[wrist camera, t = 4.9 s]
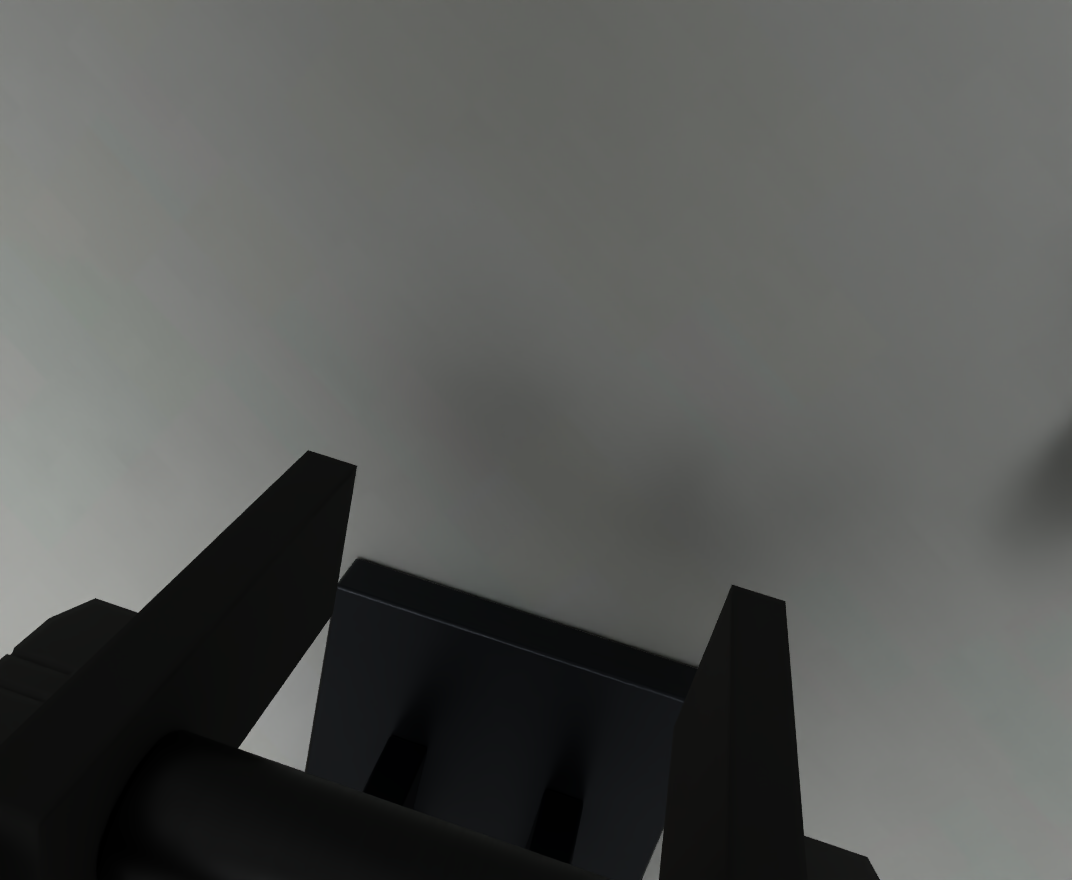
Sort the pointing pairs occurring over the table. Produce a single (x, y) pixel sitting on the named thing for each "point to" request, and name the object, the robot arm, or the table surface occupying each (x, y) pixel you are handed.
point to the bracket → (497, 720)
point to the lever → (287, 827)
